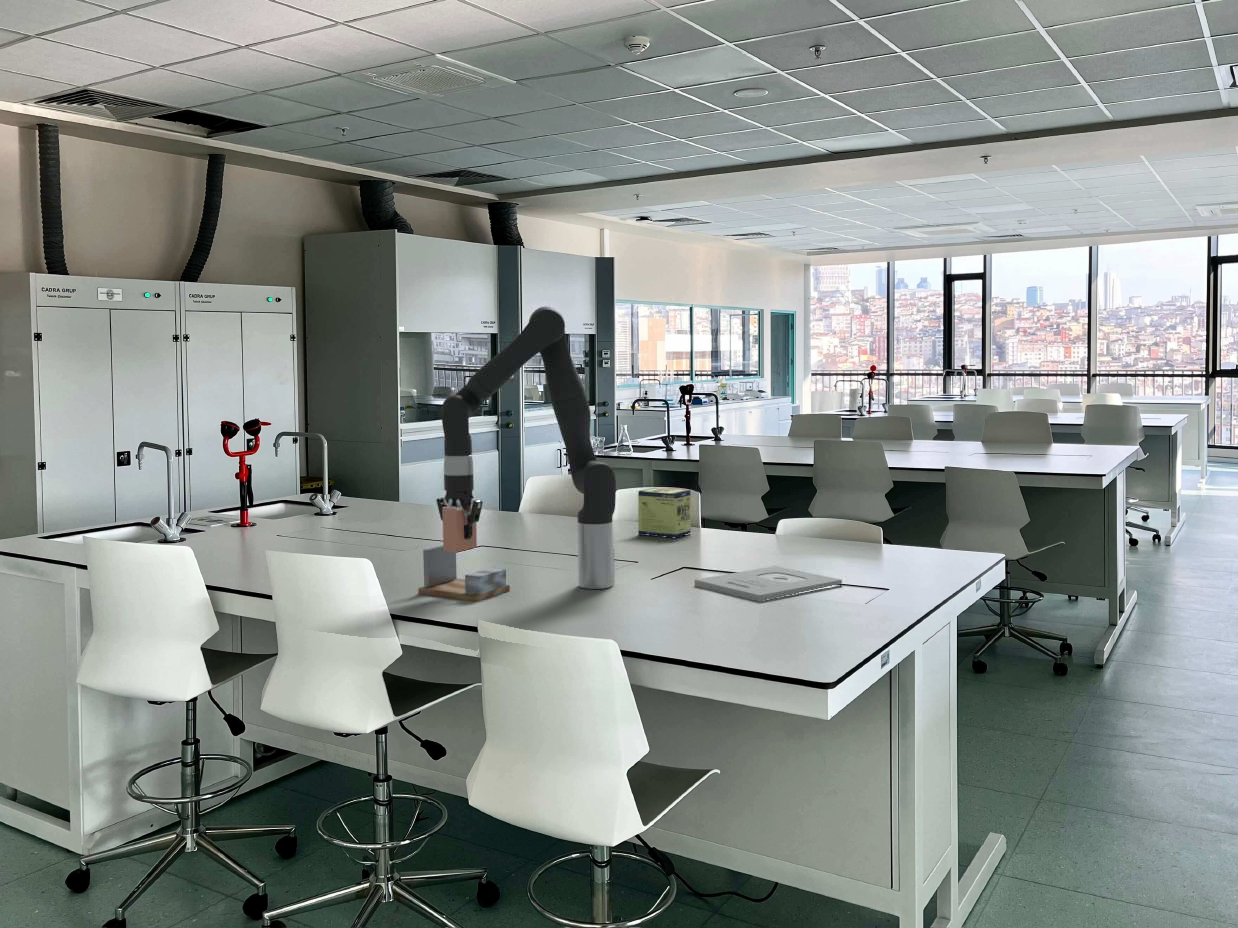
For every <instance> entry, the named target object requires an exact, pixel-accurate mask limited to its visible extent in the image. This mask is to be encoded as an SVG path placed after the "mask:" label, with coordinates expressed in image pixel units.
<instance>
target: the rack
mask: <svg viewBox="0 0 1238 928" xmlns="http://www.w3.org/2000/svg"><path fill="white" fill-rule="evenodd" d="M510 591H511V586H510V584H507V569H506V568H497V567H490V568H486V569H482V570H479V571H475V572H471V573H468V574H465V575H464V579H463V578H457V579H455V580H451V581H447V582H444V583H440V584H436V585H433V586H424V585H423V586H419V587H418V592H417V593H418V594H419V595H420V594H421V595H428V596H433V597H434V596H435V597H442V598H446V599H447V598H448V599H449V598H450V599H454V600H463V601H470V602H477V601H478V602H479V601H481V600H484V599H489V598H491V597H495V596H498V595H501V594H504V593H507V592H510Z"/></svg>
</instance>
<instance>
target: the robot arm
mask: <svg viewBox="0 0 1238 928" xmlns="http://www.w3.org/2000/svg"><path fill="white" fill-rule="evenodd" d="M567 339H568V338H567V334H566V322H565V319H564V317H563V315H562V313H561V312H560V311H559V310H557V309H556V308H554V307H551V306H541V307H538V308H537V309H535V310H534V311H533V312H532V314H531V315H530V317H529V319H528V323H527V324H526V326H524V328H523V330H522V331H521V332H520V333H519V334H518V335H517V337H516V338H515V339H514V340H513V341H512V342H510V344H509V345H507V346H506V347H505V348H503V350H501V351H500V352H498V353H497V354H496V355H494V357H492V358H491V359H490V360H488V361H487V362H486V363H485V364H484V365H483V366H481V367H480V369H478V370H477V371H476V372H475V373H474V374H473V375H472V376H471V377H470V378H469V380H468V381H467V383H466V384H465V385H464V386H463V387H462V388H461V389H460V390H458V391H457V392H456V393H455V394H454V395H451V396H448V397H447V398H446V399H444V401H443V403H442V404H441V405H442V406H441V411H440V412H441V423H442V430H443V435H444V442H443V444H444V447H443V448H444V451H443V452H444V453H443V454H444V459H443V490H444V491H445V496H444V497H438V498H436V500H435V501H436V504H437V508H438V509H437V510H438V513H439V517H440V520H441V521H442V522H443V512H442V508H443V507H447V506H457V507H462V516H463V517H464V524H465V525H464V539H471V537H472V535H473V533H472V532H473V527H472V525H473V523H475V522H476V523H479V521H480V518H481V513H482V508H483V504H484V503H483V500H481V499H476V498H474V495H473V491H474V488H475V487H474V485H475V484H474V483H475V482H474V460H473V446H472V445H473V444H472V443H473V442H472V436H471V434H470V426H469V424H470V423H469V422H470V421H469V419H470V418H471V417H472V416H473V415H474V414H475V413H476V411H478V409H479V408H480V407H481V406H482V405H484V403H485V402H486V401H487V400H488V399H490V398H491V397H492V396H493V395H494V394H495V393H497V392H498V391H499V389H501V388H502V387H503V386H504V385H505V384H506V383H507V382H508V381H509V380H510V379H511V378H512V377H513V376H514V375H515V374H516V373H517V372H518V371H519V370H520V369H521V368H522V367H523V366H524V365H526V364H527V362H529V361H530V360H531V359H532V358H533V357H535V356H536V355H537V354H540V357H541V359H542V363H543V366H544V372H545V377H546V378H545V380H546V385H547V390H548V391H547V392H548V395H549V399H550V402H551V406H552V409H553V412H554V413H553V414H554V416H555V419H556V422H557V424H558V428H559V430H560V434H561V438H562V441H563V443H564V446H565V450H566V454H567V460H568V464H569V469H570V475H571V479H572V483H573V486H574V487H575V489H576V490H577V491H578V492H579V493H581V494H583V504H582V508H581V509H580V510H579V511H578V512H577V557H578V558H577V559H578V560H577V561H578V562H577V563H578V567H577V568H578V569H577V570H578V587H579V588H581V589H582V588H583V589H591V590H599V589H600V590H601V589H607V588H612V587H613V586H614V584H615V549H614V548H613V547H614V542H613V539H614V537H613V536H614V533H613V532H614V531H613V516H614V514H615V510H616V501H617V500H616V498H617V497H616V495H617V493H616V491H617V488H616V487H617V482H616V480H617V479H616V474H615V472H614V469H613V468H612V467H611V466H610V464H607V463H605V462H601V461H598V459H597V457H596V454H595V451H594V448H593V446H592V441H591V423H592V422H591V419H592V417H591V416H592V415H591V408H590V404H589V401H588V397H587V394H586V391H585V388H584V385H583V381H582V380H581V377H580V375H579V372H578V370H577V368H576V365H575V364H574V362H573V359H572V356H571V353H570V349H569V345H568V340H567ZM471 507H472V509H471ZM468 509H469V512H465V511H466V510H468ZM464 510H465V511H464ZM467 515H468V518H467Z"/></svg>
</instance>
